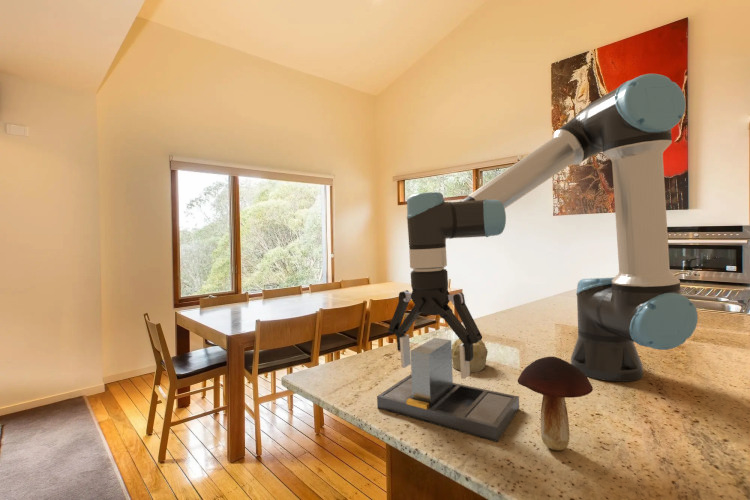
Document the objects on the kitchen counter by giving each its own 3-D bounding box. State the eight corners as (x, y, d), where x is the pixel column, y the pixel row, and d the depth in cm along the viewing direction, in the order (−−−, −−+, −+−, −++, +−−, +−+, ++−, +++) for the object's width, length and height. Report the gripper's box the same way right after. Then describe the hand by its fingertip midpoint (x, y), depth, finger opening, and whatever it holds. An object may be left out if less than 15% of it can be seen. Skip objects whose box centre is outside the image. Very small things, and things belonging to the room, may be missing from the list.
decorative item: (475, 387, 95) (498, 357, 94) (442, 363, 96) (465, 333, 95) (472, 374, 104) (494, 346, 103) (443, 352, 106) (464, 324, 104)
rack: (519, 408, 75) (518, 392, 75) (496, 442, 64) (496, 423, 63) (411, 384, 89) (410, 370, 89) (377, 408, 78) (376, 392, 78)
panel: (453, 394, 81) (451, 340, 81) (430, 414, 73) (428, 353, 72) (436, 391, 84) (434, 337, 83) (413, 410, 75) (410, 350, 75)
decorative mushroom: (508, 433, 66) (506, 349, 65) (568, 428, 67) (566, 345, 66) (541, 472, 55) (538, 372, 55) (611, 465, 56) (610, 366, 55)
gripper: (495, 267, 73) (500, 374, 74) (388, 267, 87) (393, 356, 88) (481, 271, 67) (487, 388, 68) (369, 270, 81) (375, 367, 82)
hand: (434, 370), depth 78 cm, fingers open, 13 cm apart
